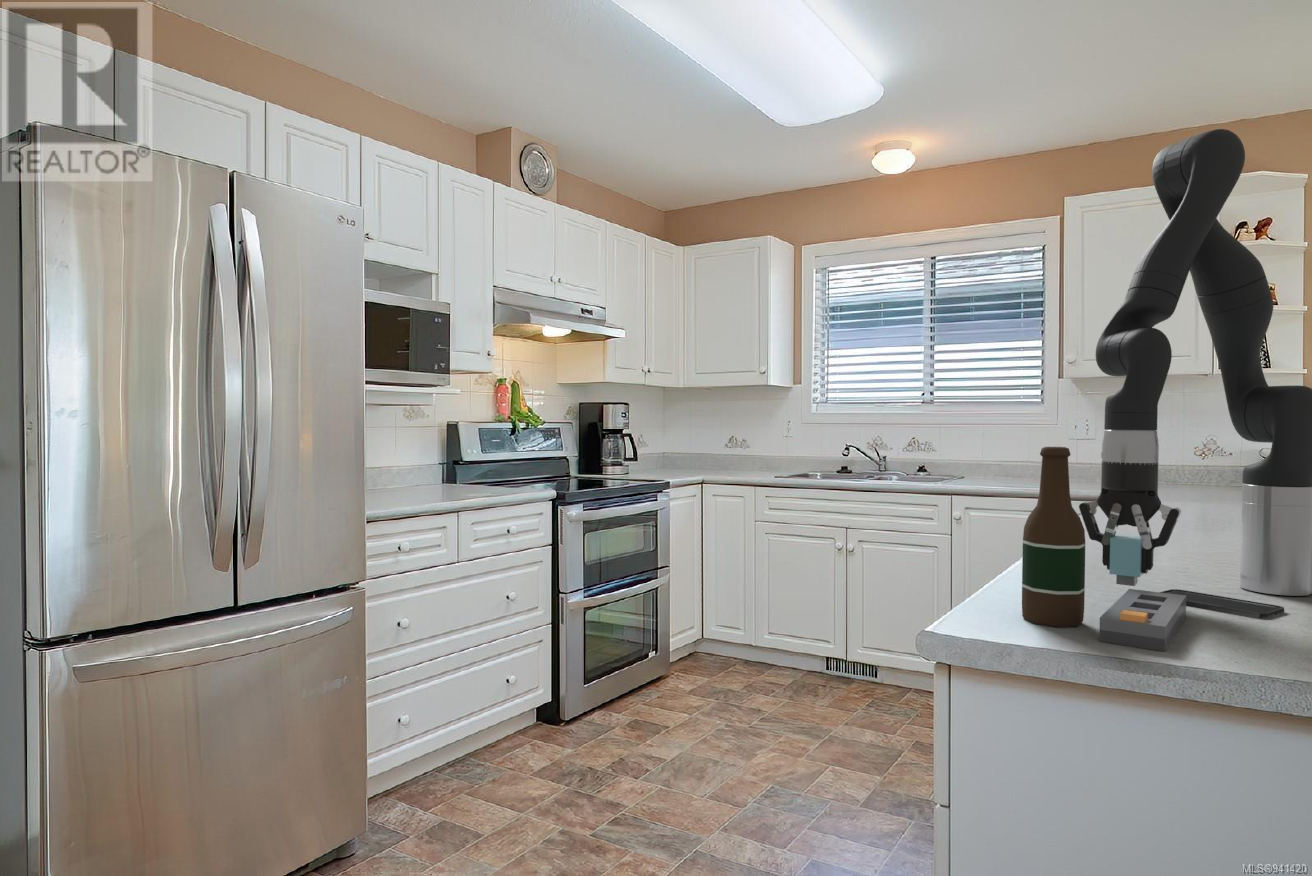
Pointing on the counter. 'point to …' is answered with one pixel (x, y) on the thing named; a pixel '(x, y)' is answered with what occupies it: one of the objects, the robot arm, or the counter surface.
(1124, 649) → the counter surface
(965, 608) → the counter surface
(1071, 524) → the beer bottle
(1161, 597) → the power strip
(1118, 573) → the block
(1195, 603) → the phone
